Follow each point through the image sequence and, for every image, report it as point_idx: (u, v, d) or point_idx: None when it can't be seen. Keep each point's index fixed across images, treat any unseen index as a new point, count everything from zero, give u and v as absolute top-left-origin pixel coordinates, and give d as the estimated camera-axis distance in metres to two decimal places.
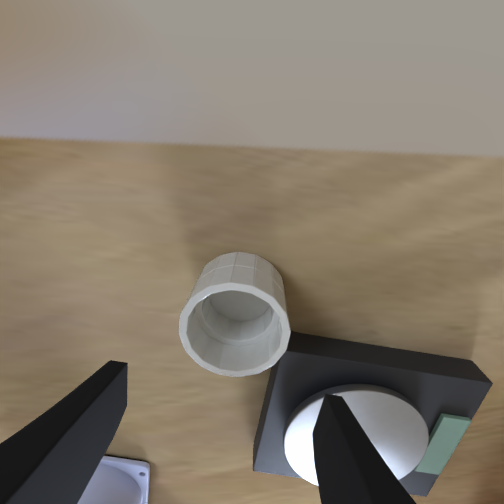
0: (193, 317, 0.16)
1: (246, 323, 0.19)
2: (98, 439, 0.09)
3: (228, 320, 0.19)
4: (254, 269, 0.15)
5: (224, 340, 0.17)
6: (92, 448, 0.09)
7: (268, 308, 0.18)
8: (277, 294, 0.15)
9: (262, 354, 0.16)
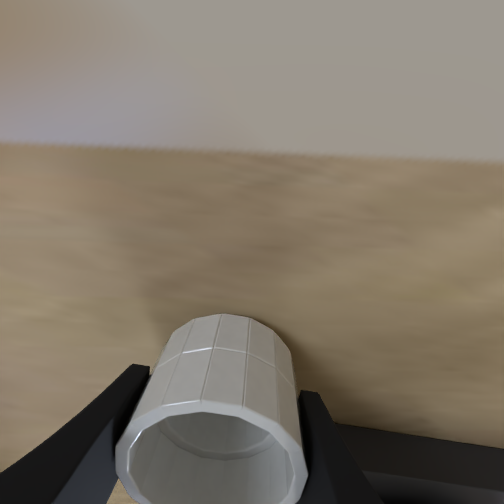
0: (148, 427, 0.10)
1: None
2: None
3: None
4: (246, 355, 0.09)
5: (201, 452, 0.11)
6: None
7: None
8: (285, 406, 0.08)
9: (259, 490, 0.10)
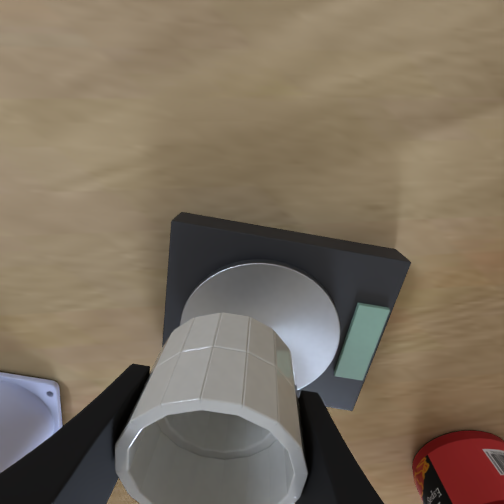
0: (147, 426, 0.10)
1: None
2: None
3: None
4: (246, 354, 0.09)
5: (200, 451, 0.11)
6: None
7: None
8: (284, 404, 0.08)
9: (259, 489, 0.10)
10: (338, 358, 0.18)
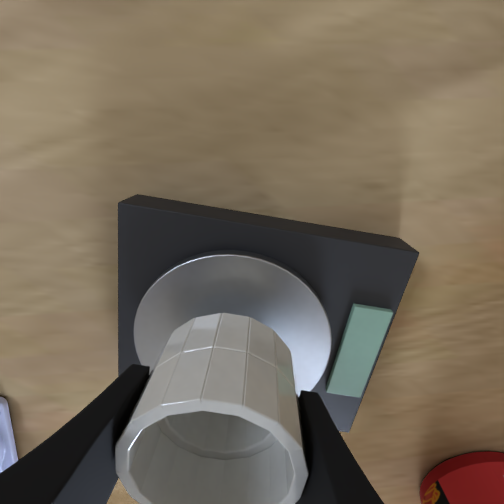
0: (148, 426, 0.10)
1: None
2: None
3: None
4: (246, 354, 0.09)
5: (201, 451, 0.11)
6: None
7: None
8: (285, 405, 0.08)
9: (259, 489, 0.10)
10: (330, 372, 0.15)
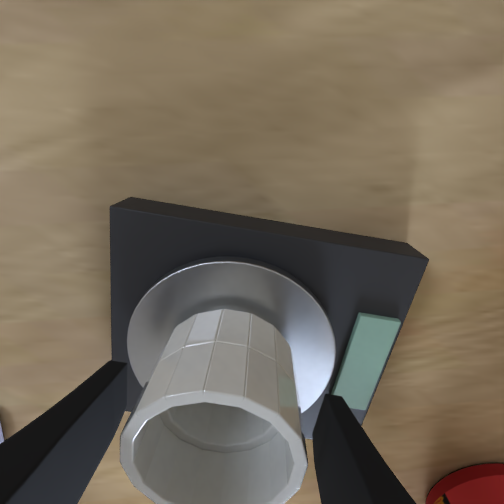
0: (151, 419, 0.10)
1: (237, 407, 0.13)
2: (98, 439, 0.09)
3: None
4: (247, 349, 0.09)
5: (202, 444, 0.11)
6: (92, 448, 0.09)
7: None
8: (285, 397, 0.09)
9: (260, 481, 0.10)
10: (334, 383, 0.14)
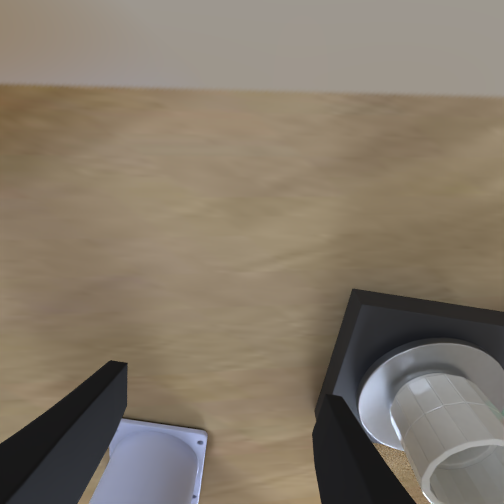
0: None
1: None
2: (98, 439, 0.09)
3: None
4: (486, 407, 0.15)
5: None
6: (92, 448, 0.09)
7: None
8: None
9: (489, 488, 0.16)
10: None
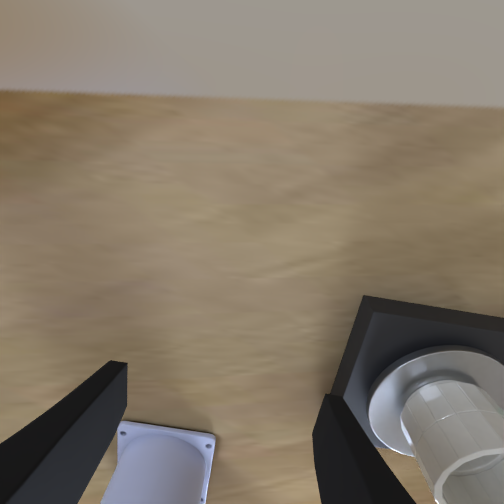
0: None
1: None
2: (98, 439, 0.09)
3: None
4: (498, 415, 0.15)
5: None
6: (92, 448, 0.09)
7: None
8: None
9: (499, 495, 0.16)
10: None
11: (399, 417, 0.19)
